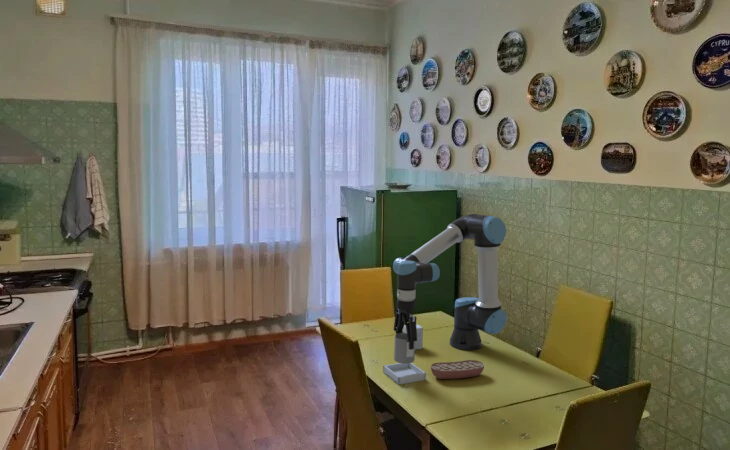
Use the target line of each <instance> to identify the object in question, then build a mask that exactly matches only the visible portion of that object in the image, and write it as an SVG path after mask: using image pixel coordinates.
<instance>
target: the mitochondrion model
mask: <svg viewBox="0 0 730 450" xmlns="http://www.w3.org/2000/svg"><path fill="white" fill-rule="evenodd" d="M484 369H485V363H483V362H482V361H480V360H475V359H468V360H460V361H459V360H458V361H450V362H449V361H447V362H434V363H432V364H430V371H431V373H432V375H433V376H434V377H436V378H437V379H439V380H456V379H466V378H467V379H468V378H472V377H478V376H479V375H481V374H482V372H483V371H484Z"/></svg>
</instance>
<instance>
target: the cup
mask: <svg viewBox="0 0 730 450" xmlns="http://www.w3.org/2000/svg"><path fill="white" fill-rule="evenodd" d="M407 341H408V337H407V333H400V334H396V333H395V335H394V349H393V350H394V352H393V353H394V354H393V356H394V357H393V359H394V362H396V363H403V364H408V363H414V362H415V359H416V358H415V357H416V355H415V354H416V353H415V352H416V350H415V341H414V348H413V356H412V357H406V354H407Z"/></svg>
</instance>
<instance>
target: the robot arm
mask: <svg viewBox="0 0 730 450" xmlns="http://www.w3.org/2000/svg"><path fill="white" fill-rule="evenodd" d="M506 236H507V228H506V224H505V222H504V221H503V220H502V219H501V218H499V217H497V216H493V215H487V214H478V213H469V214H466V215H463V216H462V217H459V218H457V219H455V220H454V221H452V222H451V223H448V225H447V227H446V229H445V230H443V231H441V232H440V233H439V234H438V235H436V236H434V237H433V238H432V239H430V240H429V241H427V242H426V243H424V244H423V245H422V246H421V247H419V248H417V249H416V250H414V251H413V252H412V253H410V254H409V255H407V256H406V257H398V258H395V259H394V261H393V264H392V270H393V271H394V273H395V274H396V275H397V281H396V282H397V283H396V284H397V285H396V286H397V287H396V288H397V289H396V290H397V292H396V297H397V299H396V308H395V309H394V313H395V315H394V321H393V322H394V324H393V331H394V332H395V335H396V334H400V333H403V327H404V326H406V331H407V337H408V341H407V354H406V357H412V356H413V348H414V341H417V329H416V325H417V316H416V315H415V316H414V315H413V311H414V310H416V300H415V299H416V295H417V294H416V293H417V292H416V289H417V284H423V283H432V282H435V281H437V280H438V279H439V278H440V275H441V272H440V271H441V269H440V268H439V265H438V264H436V263H434V262H432V263H430V261H433V260H434V259H435V258H437V257H438V256H439V255H441V254H443V252H445V251H446V250H447V249H449V248H451V247H452V246H453V245H455V244H457V243H462V241H465V240H470V239H471V240H474V241H473V245H474V247H475V248H476V249H477V275H478V277H477V278H478V279H477V281H478V285H477V287H478V297H474V296H473V297H472V296H471V297H469V296H468V297H467V296H466V297H459V298H456V299H455V301H454V307H453V308H454V313H453V314H454V316H453V321H454V322H453V330H452V333H451V336H450V337H449V346H451V347H453V348H455V349H458V350H463V351H464V350H465V351H474V350H478V349H480V348H481V347H482V339H481V335H480V330H481V331H482V332H485V333H488V334H493V335H495V334H498V333H500V332H501V331H502V330H503V329H504V328H505V326H506V323H507V320H508V315H507V312H506V311H504V310H503V309H502V302H501V301H500V300H499V299H498V298H499V296H498V295H499V294H498V292H499V287H498V283H499V282H498V281H499V280H498V279H499V278H498V277H499V276H498V275H499V274H498V249H499V248H500V247H501V245H502V242H504V241H505V238H506Z"/></svg>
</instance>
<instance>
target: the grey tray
mask: <svg viewBox="0 0 730 450" xmlns="http://www.w3.org/2000/svg"><path fill="white" fill-rule="evenodd" d="M382 367H383V368H382V372H383V374H384V375H386V376H387V377H388V378H389V379H391V381H393V383H395V384H397V386H399V385H404V384H410V383H415V382H422V381H425V380H426V378H427V377H426V376H427V372H425V371H424V370H423V369H421V368H420V367H418V366H417V365H415V364H414V362H412V363H408V364H403V363H398V362H396V363H392V364H384V365H383V366H382Z"/></svg>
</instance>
